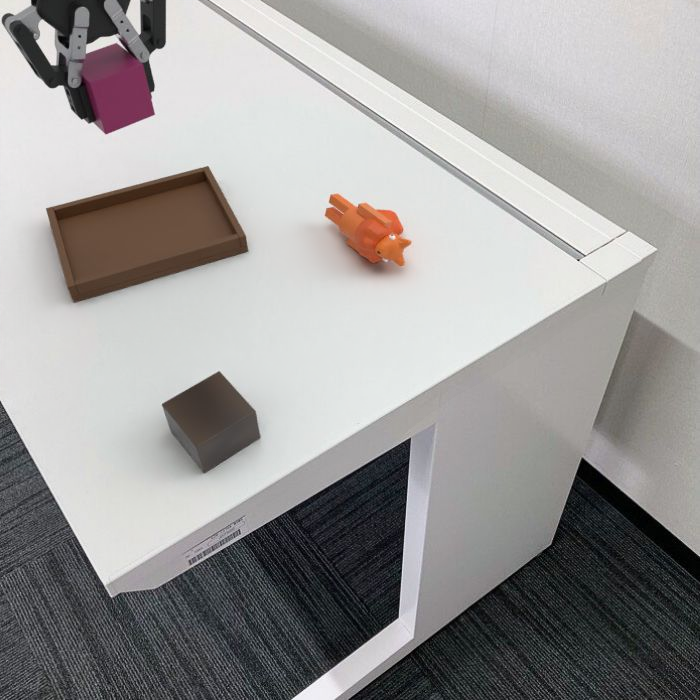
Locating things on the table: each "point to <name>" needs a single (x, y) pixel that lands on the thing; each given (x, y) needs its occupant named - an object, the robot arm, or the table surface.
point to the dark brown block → (212, 421)
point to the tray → (144, 232)
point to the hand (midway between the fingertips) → (116, 107)
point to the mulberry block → (116, 88)
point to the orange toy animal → (369, 230)
